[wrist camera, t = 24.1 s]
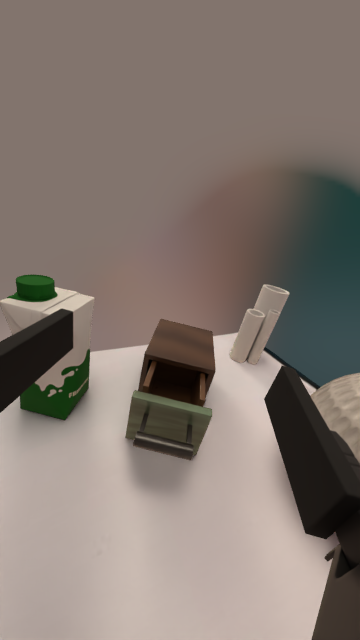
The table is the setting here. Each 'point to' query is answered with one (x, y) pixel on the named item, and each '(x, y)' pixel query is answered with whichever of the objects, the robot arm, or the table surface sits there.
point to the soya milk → (73, 369)
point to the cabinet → (181, 350)
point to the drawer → (169, 411)
